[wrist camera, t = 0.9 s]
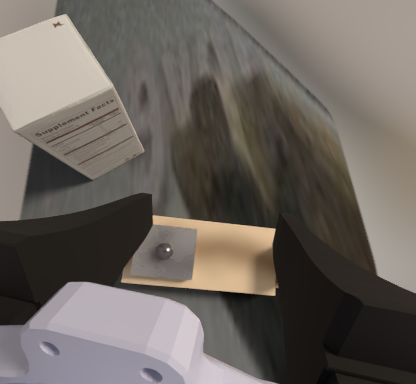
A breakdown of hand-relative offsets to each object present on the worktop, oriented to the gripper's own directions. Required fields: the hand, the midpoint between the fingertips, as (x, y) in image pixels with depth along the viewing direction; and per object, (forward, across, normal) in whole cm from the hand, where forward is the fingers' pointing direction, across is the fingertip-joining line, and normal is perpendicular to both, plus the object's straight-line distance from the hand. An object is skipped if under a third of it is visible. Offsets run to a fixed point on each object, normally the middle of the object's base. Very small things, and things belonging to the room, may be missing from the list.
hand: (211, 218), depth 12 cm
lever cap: (+7, +5, +9) cm, 12 cm away
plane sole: (+10, +2, +11) cm, 15 cm away
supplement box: (+15, +16, 0) cm, 22 cm away
